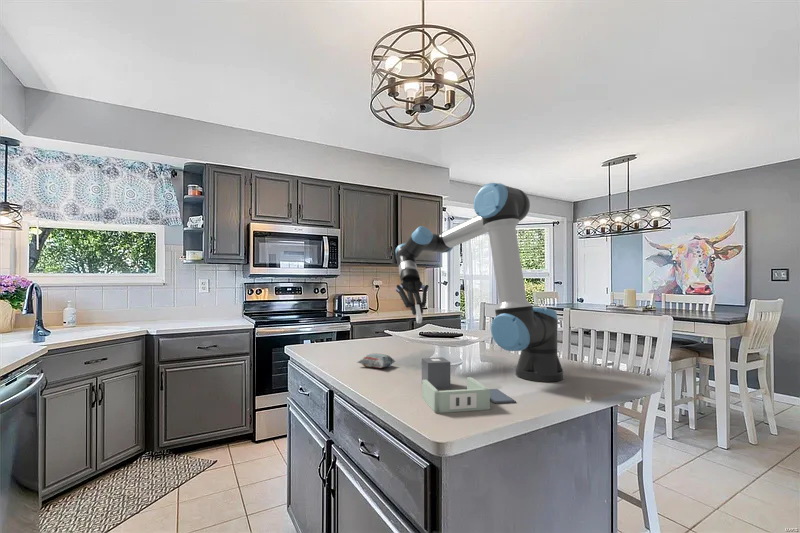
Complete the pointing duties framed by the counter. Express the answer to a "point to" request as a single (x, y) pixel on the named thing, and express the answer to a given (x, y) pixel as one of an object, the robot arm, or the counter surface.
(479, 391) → the outlet bay
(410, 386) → the counter surface
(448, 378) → the block
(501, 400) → the phone
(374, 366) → the packaged food
